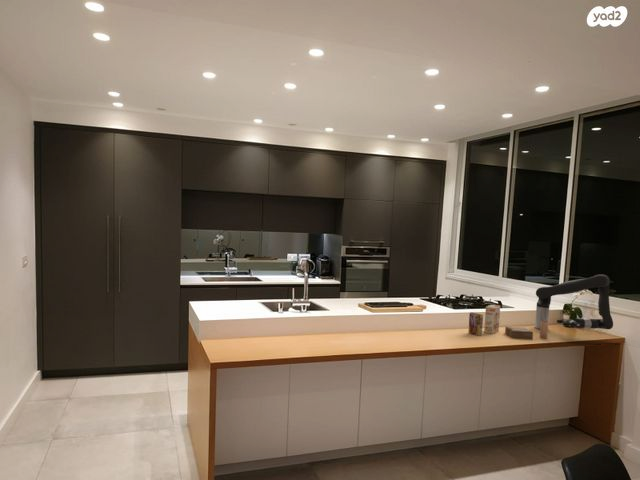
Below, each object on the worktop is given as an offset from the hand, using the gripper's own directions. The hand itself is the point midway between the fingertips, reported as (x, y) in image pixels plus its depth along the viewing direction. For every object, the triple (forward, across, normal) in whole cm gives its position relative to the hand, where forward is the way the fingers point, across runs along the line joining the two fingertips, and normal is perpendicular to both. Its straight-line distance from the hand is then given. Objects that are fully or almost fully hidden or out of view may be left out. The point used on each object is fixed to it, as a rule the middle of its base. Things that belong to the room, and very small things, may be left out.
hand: (560, 322), depth 325 cm
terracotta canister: (+12, 0, +11) cm, 16 cm away
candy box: (+62, 0, +11) cm, 62 cm away
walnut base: (+30, 0, +11) cm, 32 cm away
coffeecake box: (+46, -10, +11) cm, 48 cm away
